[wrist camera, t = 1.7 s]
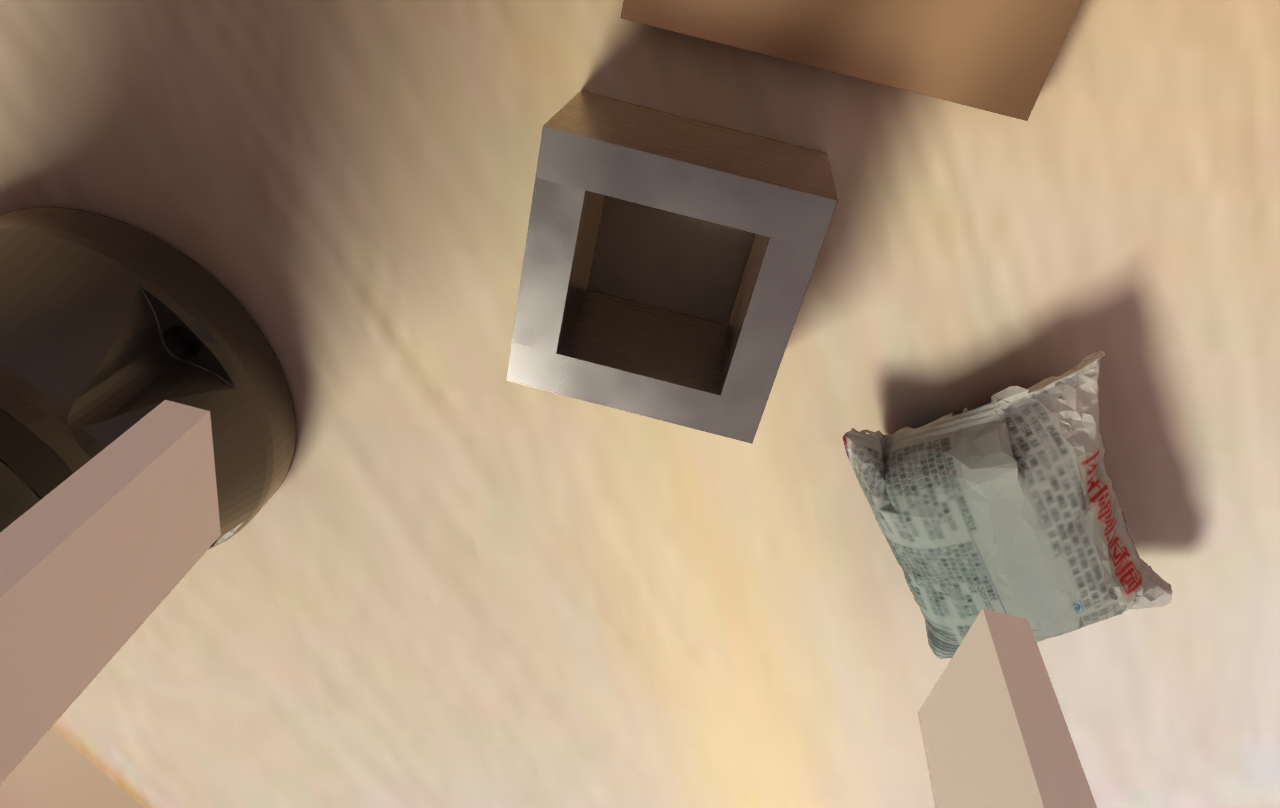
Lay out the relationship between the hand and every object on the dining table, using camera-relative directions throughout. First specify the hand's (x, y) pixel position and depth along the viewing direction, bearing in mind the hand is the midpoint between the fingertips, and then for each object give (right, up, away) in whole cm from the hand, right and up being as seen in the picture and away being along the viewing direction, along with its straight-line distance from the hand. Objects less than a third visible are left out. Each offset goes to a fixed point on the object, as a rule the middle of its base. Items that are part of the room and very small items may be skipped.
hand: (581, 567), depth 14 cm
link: (+2, +8, +14) cm, 16 cm away
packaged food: (+15, 0, +17) cm, 23 cm away
